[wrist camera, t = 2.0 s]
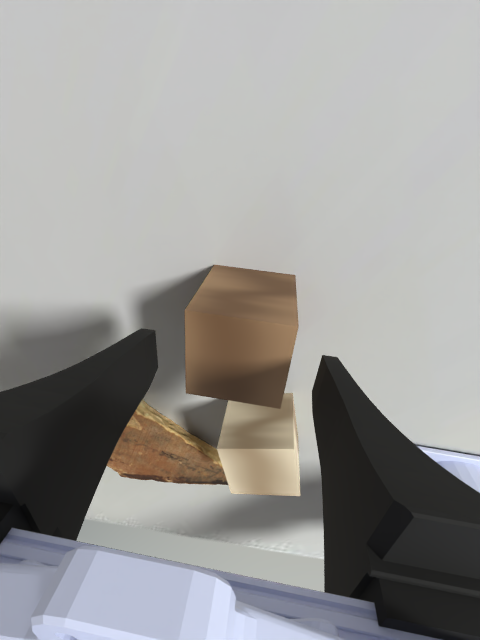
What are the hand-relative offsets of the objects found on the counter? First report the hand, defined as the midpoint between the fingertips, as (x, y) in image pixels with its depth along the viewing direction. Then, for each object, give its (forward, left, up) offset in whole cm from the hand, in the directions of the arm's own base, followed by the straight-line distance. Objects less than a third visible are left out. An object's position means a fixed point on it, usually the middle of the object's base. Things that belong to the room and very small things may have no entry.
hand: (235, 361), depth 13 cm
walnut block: (0, 0, -5) cm, 5 cm away
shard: (+6, +13, -6) cm, 15 cm away
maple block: (-2, +9, -6) cm, 11 cm away
